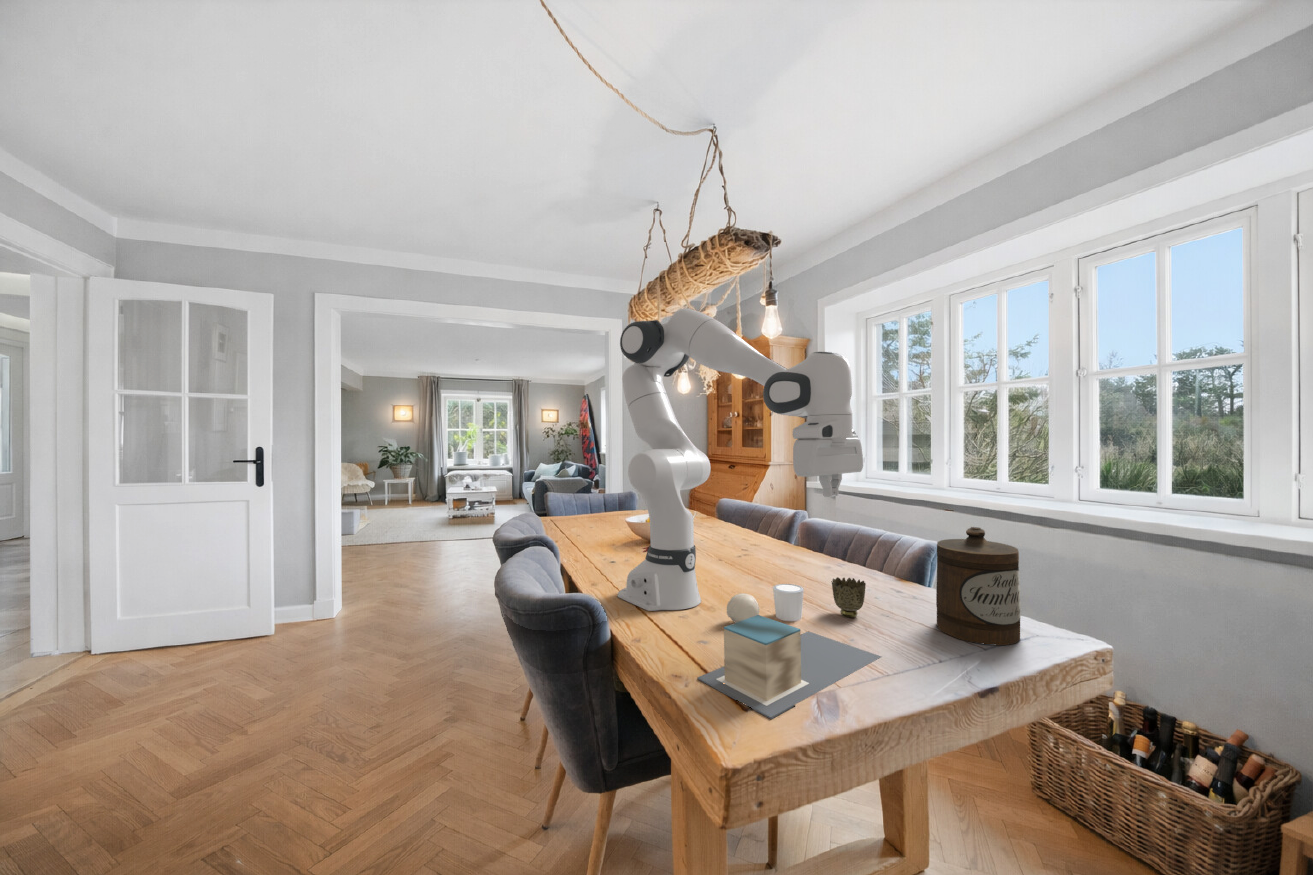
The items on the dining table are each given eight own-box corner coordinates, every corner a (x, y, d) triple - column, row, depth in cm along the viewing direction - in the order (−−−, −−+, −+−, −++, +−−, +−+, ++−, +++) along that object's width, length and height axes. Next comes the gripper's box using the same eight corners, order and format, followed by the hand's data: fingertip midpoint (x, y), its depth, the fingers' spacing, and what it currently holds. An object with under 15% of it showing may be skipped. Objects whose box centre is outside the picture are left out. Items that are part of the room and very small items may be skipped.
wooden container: (980, 650, 96) (979, 536, 96) (921, 623, 110) (919, 523, 110) (1039, 640, 100) (1037, 531, 100) (974, 615, 114) (972, 519, 114)
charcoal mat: (808, 632, 106) (808, 631, 106) (881, 658, 93) (881, 656, 93) (697, 679, 86) (697, 677, 86) (771, 719, 74) (771, 717, 74)
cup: (863, 623, 110) (863, 587, 110) (829, 618, 114) (828, 583, 114) (868, 613, 117) (867, 579, 117) (835, 608, 120) (834, 575, 120)
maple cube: (723, 626, 85) (724, 679, 85) (765, 643, 78) (766, 700, 78) (758, 614, 91) (759, 664, 91) (800, 629, 84) (801, 682, 84)
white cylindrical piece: (805, 624, 111) (805, 592, 111) (773, 622, 112) (773, 591, 112) (803, 613, 117) (802, 583, 117) (772, 612, 119) (772, 582, 119)
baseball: (721, 620, 114) (721, 591, 114) (751, 617, 115) (751, 588, 115) (733, 631, 107) (732, 600, 107) (764, 628, 109) (764, 597, 109)
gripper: (843, 430, 113) (844, 491, 113) (786, 430, 100) (788, 499, 100) (870, 429, 108) (871, 493, 108) (814, 429, 95) (815, 502, 95)
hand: (830, 496), depth 104 cm, fingers closed
